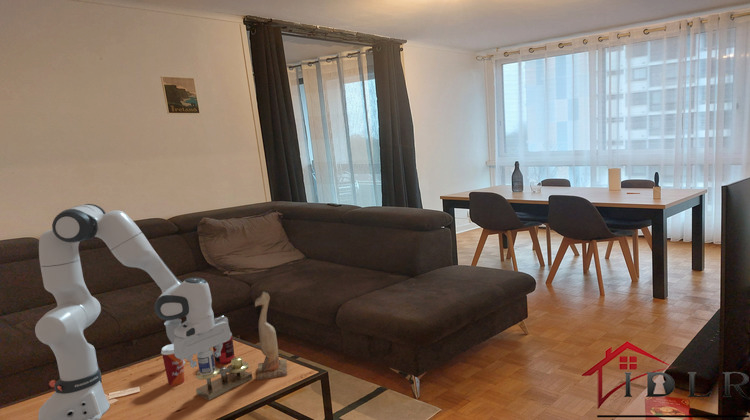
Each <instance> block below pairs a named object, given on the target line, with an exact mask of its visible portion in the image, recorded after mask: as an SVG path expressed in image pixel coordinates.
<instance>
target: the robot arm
mask: <svg viewBox="0 0 750 420" xmlns="http://www.w3.org/2000/svg"><path fill="white" fill-rule="evenodd" d="M95 238H99V239H100V240H102V241H103V242H104V243H105V245H106V246H107V247H108V249H109V251H110V252H111V254H112V255H113V256H114V257H115V259H117V261H119V262H120V263H121V264H122V265H123V266H126V267H128V268H137V269H141V270H143V271H144V272H146V273H147V274H148V275H149V276H150V278H151V279H152V280H153V281H154V282H155V284H156V285H157V286H158V287H159V288H160V290H161V294H160V295H159V296H158V298H157V300H156V301H155V302H154V307H153V308H154V313H155V315H157V317H158V318H160V319H161V320H163V321H170V320H175V319H181V318H184V317H186V319H185V321H183V322H181V325H180V326H178V327H177V328H176V329H174V334H175V335H176V337H175V339H174V355H175V357H176V358H178V359H181V360H183V359H184V360H185V359H186V360H187V361H188V362H189V365H190V368H195V367H198V365H197V364H198V361H196V360H193V358H194V355H197V354H198V353H200V352H202V351H204V350H205V348H206V347H209V348H210V349H211V348H212V349H213V347H214V346H217V350H216V351H215V352H213V355H214V354H215V357H219V356H221V349H222V347H223V343H224V342H226V341H229V340H230V338H231V333H232V332H231V330H230V326H229V319H228V317H227V316H224V315H220V316H218V317H215V316H214V311H213V308H212V303H213V302H212V301H213V299H212V294H211V290H210V289H211V288H210V285H209V283H208V281H207V280H205V278H202V277H188V278H186V279H184V280H183V281H181V279H179V278H178V277H177V276H176V275H175V274H174V273H173V271H172V270H171V269H170V268H169V267H168V265H167V263H165V262H164V261H163V259H162V257H160V256H159V254H158V253H157V252H156V251H155V249H154V247H153V246H152V244H151V243H150V242H149V240H148V238H147V237H146V236H145V234H144V233H143V232H142V230H141V229H140V228H139V226H138V225H137V224H136V222H135V221H134V220H133V219H132V218H131V217H130V216H129V215H128V214H127V213H126V212H125V211H122V210H119V209H117V210H115V209H114V210H110V211H107V212H106V211H105V210H104V209H103V208H102V207H101V206H99V205H97V204H94V203H93V204H92V203H85V204H80V205H79V204H78V205H75V206H72V207H70V208H68V209H64V210H63V211H61V212H59V213H58V214H57V215H56V216H55V217H54V219H53V221H52V223H51V229H49V230H46V231H45V232H43V233H42V234H41V235H40V237H39V239H38V240H39V241H38V258H39V265H40V271H41V277H42V284H43V287H44V289H45V290H46V291H47V292H48V293H51V294H52V295H53V297H54V298H55V301H56V304H57V306H56V307H54V308H53V309H51V310H49V311H47V312H46V313H45V314H44V315H43V316H42V317H41V318H39V320H38V321H37V322H36V324H35V327H34V333H35V336H36V338H37V339H38V340H39V342H41V343H43V344H45V345H47V346H48V347H50V349H51V351H52V352H53V354H54V357H55V358H56V362H57V368H58V373H59V374H58V375H59V379H58V380H55V379H52V380H50V381H49V383H48V385H49V386H50V387H51V388H54V393H52V395H50V397H49V398H48V399H47V400H46V401H45V402H44V403H43V404H42V405H41V406H40V408H39V410H38V420H100V419H101V417H102V416H103V415H104V414H105V413H106V412H107V411H108V410H109V408H110V402H109V401H108V399H107V396H106V394H105V391H104V389H103V381H102V372H101V368H100V367H99V364H98V361H97V354H96V353H97V352H96V349H95V347H94V345H92V344H91V343H89V342H88V341H87V339H86V338H85V335H84V330H86V329H87V328H88V327H89V326H91V325H92V324H93V323H94V322H95V321H96V320H97V319H98V318H99V315H100V314H101V311H102V308H101V307H102V306H101V304H100V301H99V300H98V299H97V298H96V297H95V296H92V294H91V293H90V291H89V289H88V287H87V285H86V283H85V280H84V276H83V275H84V273H83V268H82V262H81V257H80V252H79V246H80V242H83V241H86V240H93V239H95ZM230 332H231V333H230Z"/></svg>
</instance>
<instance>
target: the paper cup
mask: <svg viewBox="0 0 750 420" xmlns="http://www.w3.org/2000/svg"><path fill="white" fill-rule="evenodd" d="M160 354H161V355H162V360H163V364H164V368H165V370H164V371H165V373H166V374H165V375H166V378H167V383H168V385H169V386H171V387H173V386H179V385H182V384H183V383H185V369H184V367H185V365H184V364H183V360H181V359H178V358H176V357H175V355H174V344H172V343H171V344H166V345H165V346H163V347H162V348H161V352H160Z"/></svg>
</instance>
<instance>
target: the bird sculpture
mask: <svg viewBox="0 0 750 420" xmlns="http://www.w3.org/2000/svg"><path fill="white" fill-rule="evenodd" d="M270 300H271V297H270V295H269V293H268V292H266V291H262V293H261V294H260V296H259V297H258V298H256V299H255V300H254V307H255V308H257V307H261V308H260V309H261V310H260V314H259V318H258V336H259V345H260V350H261V353H262V354H263V356H265V358H264V360H263V362H258V364H257V373H256V376H257V377H256V378H257V381H262V380H266V379H272V378H279V377H285V376H287V375H288V368H287V364H288V363H287V359H288V358H284V359H282V358H281V359H279V356H280V355H279V347H278V346H279V344H278V339H277V331H276V329H275V327H274V326H273V325H272V324H270V323H269V322H267V315H268V308H269V305H270V304H269V303H270Z"/></svg>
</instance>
